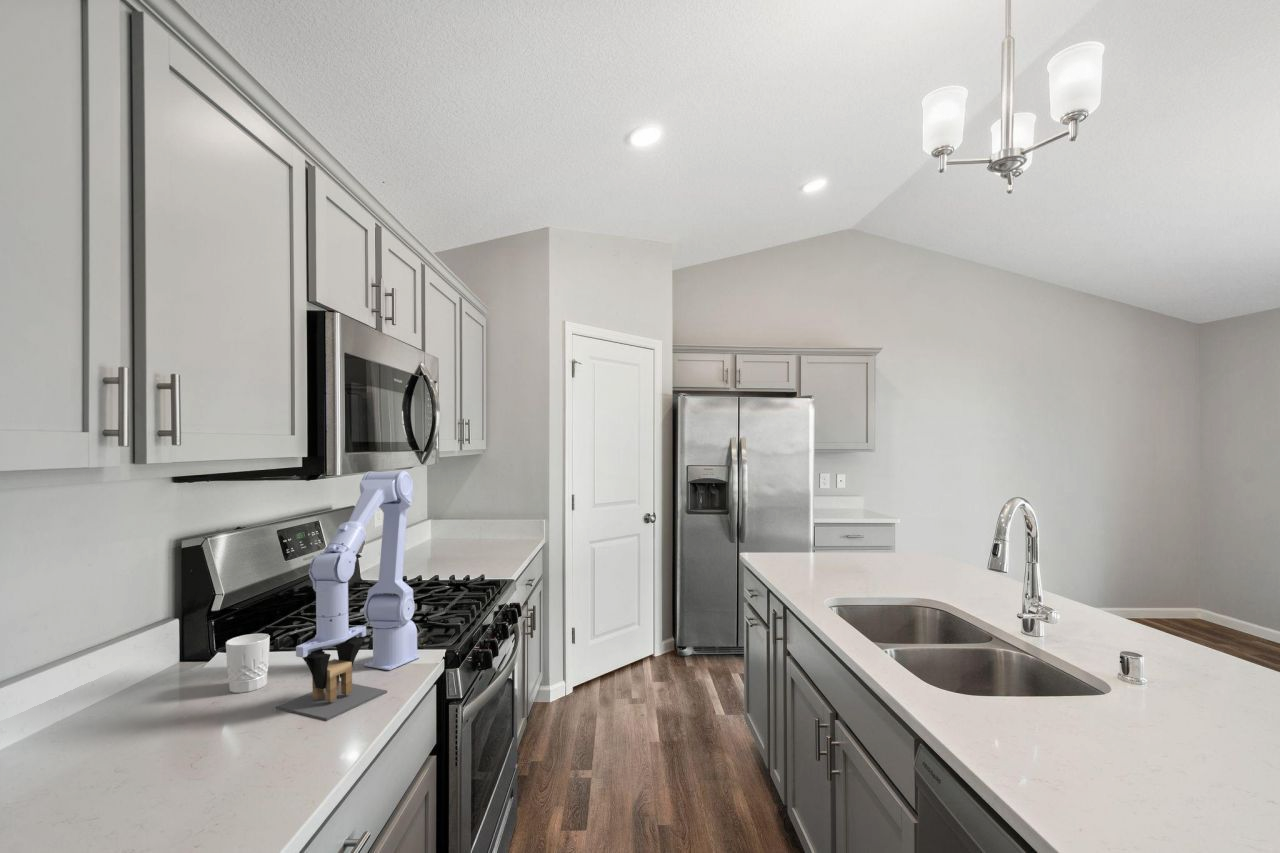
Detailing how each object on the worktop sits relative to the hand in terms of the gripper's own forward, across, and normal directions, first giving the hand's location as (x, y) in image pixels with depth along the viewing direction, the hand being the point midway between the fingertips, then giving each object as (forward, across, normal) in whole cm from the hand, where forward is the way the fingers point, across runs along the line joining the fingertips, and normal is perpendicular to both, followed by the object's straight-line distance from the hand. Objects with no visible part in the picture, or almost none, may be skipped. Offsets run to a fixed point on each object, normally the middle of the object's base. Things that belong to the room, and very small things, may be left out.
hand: (333, 682), depth 125 cm
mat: (+3, 0, 0) cm, 3 cm away
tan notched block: (+2, 0, 0) cm, 3 cm away
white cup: (+4, +2, -23) cm, 23 cm away
